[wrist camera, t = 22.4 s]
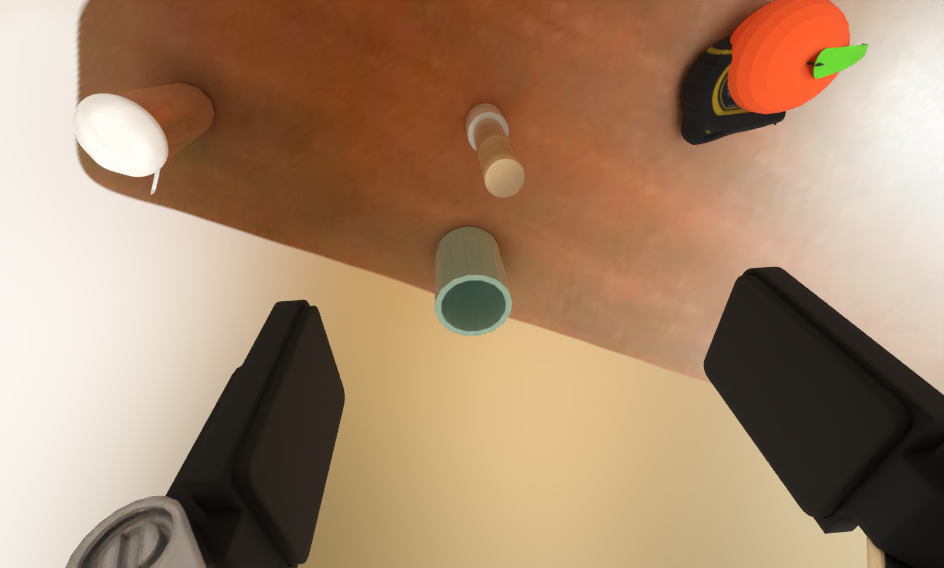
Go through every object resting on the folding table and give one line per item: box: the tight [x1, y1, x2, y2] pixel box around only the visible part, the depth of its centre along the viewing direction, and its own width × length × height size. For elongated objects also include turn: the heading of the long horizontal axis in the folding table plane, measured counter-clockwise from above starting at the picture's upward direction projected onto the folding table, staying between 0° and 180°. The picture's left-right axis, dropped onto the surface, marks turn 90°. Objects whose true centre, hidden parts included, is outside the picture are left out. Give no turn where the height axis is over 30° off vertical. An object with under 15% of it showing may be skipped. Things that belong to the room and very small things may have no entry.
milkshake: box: [74, 82, 215, 194], centre depth 26 cm, size 5×5×10 cm
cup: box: [435, 227, 512, 336], centre depth 35 cm, size 6×6×8 cm
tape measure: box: [680, 35, 786, 145], centre depth 30 cm, size 7×7×4 cm
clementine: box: [728, 0, 868, 114], centre depth 27 cm, size 8×7×7 cm
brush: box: [466, 103, 525, 198], centre depth 27 cm, size 3×3×12 cm
